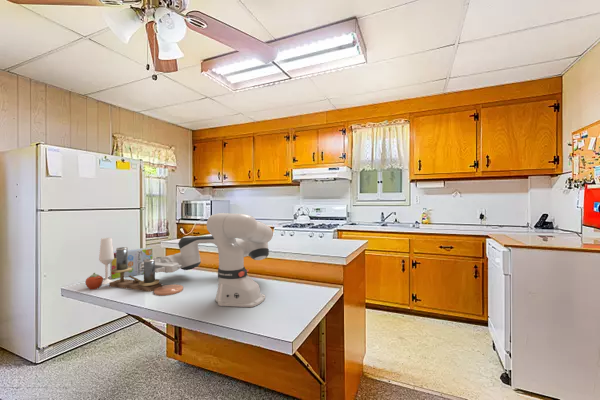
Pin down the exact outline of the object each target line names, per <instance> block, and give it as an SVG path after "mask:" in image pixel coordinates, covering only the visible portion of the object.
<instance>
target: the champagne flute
mask: <svg viewBox="0 0 600 400" xmlns="http://www.w3.org/2000/svg"><path fill="white" fill-rule="evenodd" d="M113 251H114V247H113V238H112V237H102V238H101V239H100V246H99V255H98V256H99V258H98V261H99V262H100V263H101V264H103V265H104V267H105V268H104V269H105V270H104V273H105V278H104V279H103V283H102V285H108V284H107V283H110V282H113V281H114V280H113V279H109V265H110V263H111V262H112V261H113V259H114V253H113Z"/></svg>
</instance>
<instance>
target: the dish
mask: <svg viewBox="0 0 600 400" xmlns="http://www.w3.org/2000/svg"><path fill="white" fill-rule="evenodd" d="M183 291H184V286H183V285H181V284H178V283H177V284H176V283H175V284H173V283H172V284H166V285H162V286H160V287H158V288H156V289H155V290H154V291H153V294H154V295H156V296H172V295H175V294H176V295H177V294H179V293H180V292H183Z"/></svg>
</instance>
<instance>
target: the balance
mask: <svg viewBox="0 0 600 400" xmlns="http://www.w3.org/2000/svg"><path fill="white" fill-rule="evenodd" d="M131 270H132V267H128V269H126V270H116V268H115V269H113V270H112V272H113V273H120V278H118V279H117V280H112V281H113V282H110V283H109V284H108V285H109V287H110V286H111V287H112V288H120V289H126V288H127V289H128V290H134V291H143V292H154V290H155V289H156V288H158V287H160V286H163V283H162V282H160V280H159V279H158V278H155V282H152V283H144V280H140V279H139V278H137V277H134V276H131V275H130V276H128V278H129V279H127V278H125V277H124V272H128V271H131ZM127 289H126V290H127Z"/></svg>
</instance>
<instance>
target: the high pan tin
mask: <svg viewBox="0 0 600 400" xmlns="http://www.w3.org/2000/svg"><path fill="white" fill-rule="evenodd" d="M128 250H129V249H128V247H127V246H126V247H123V246H121V247H116V250H115V251H116V270H126V269H128Z"/></svg>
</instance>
